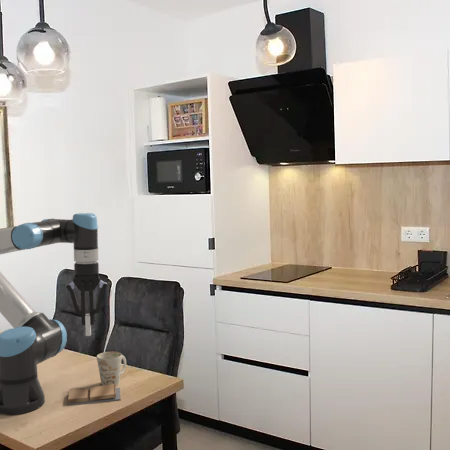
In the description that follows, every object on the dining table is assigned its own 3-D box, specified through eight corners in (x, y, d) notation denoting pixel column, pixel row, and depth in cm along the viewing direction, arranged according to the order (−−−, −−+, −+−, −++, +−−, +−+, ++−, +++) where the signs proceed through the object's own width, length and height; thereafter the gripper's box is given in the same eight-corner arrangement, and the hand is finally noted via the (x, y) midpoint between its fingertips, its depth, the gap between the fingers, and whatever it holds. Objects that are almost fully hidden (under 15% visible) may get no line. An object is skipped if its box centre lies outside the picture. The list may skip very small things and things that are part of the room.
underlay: (68, 405, 180) (68, 404, 180) (70, 393, 190) (70, 392, 189) (120, 400, 183) (120, 398, 183) (120, 388, 193) (119, 387, 193)
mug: (92, 386, 196) (91, 357, 195) (116, 374, 207) (115, 346, 206) (112, 389, 192) (111, 360, 191) (135, 377, 203) (134, 349, 202)
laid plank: (68, 403, 180) (68, 399, 180) (70, 392, 189) (70, 389, 189) (89, 401, 181) (88, 397, 181) (90, 391, 190) (89, 387, 190)
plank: (90, 400, 181) (89, 397, 181) (91, 390, 190) (90, 386, 190) (116, 397, 183) (115, 393, 183) (115, 387, 192) (115, 383, 192)
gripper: (64, 264, 179) (66, 339, 181) (107, 263, 181) (108, 336, 184) (66, 260, 186) (68, 332, 189) (107, 259, 189) (109, 330, 191)
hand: (88, 334), depth 186 cm, fingers closed
